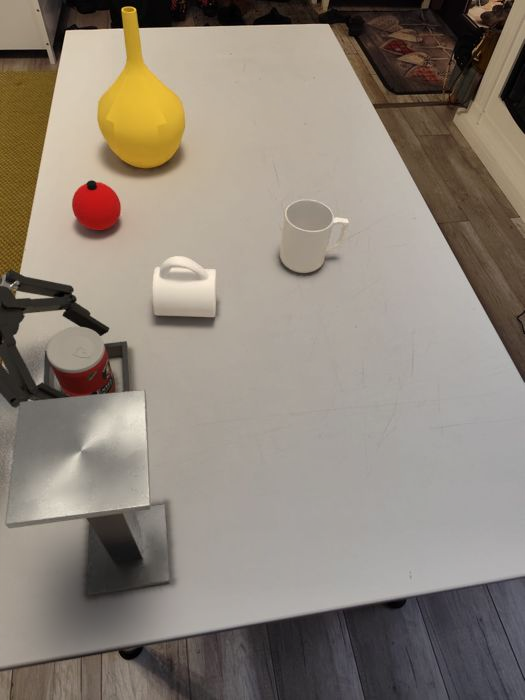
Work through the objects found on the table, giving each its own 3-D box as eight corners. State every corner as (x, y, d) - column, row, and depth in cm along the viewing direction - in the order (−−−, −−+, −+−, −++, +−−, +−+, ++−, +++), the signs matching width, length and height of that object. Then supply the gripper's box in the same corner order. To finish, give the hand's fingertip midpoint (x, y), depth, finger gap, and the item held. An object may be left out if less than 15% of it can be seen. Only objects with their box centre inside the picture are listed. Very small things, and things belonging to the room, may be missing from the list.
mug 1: (214, 326, 91) (214, 279, 81) (155, 324, 90) (147, 276, 80) (216, 291, 96) (216, 242, 86) (160, 289, 95) (153, 240, 85)
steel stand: (84, 600, 64) (4, 524, 40) (87, 512, 70) (19, 401, 46) (174, 586, 66) (149, 505, 42) (169, 501, 72) (145, 389, 48)
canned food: (106, 414, 79) (92, 375, 70) (56, 404, 80) (36, 364, 71) (122, 373, 84) (112, 331, 75) (75, 364, 84) (58, 321, 75)
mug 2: (282, 277, 99) (289, 232, 90) (275, 245, 104) (281, 199, 95) (343, 274, 101) (356, 230, 92) (333, 242, 106) (344, 197, 97)
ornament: (75, 212, 105) (64, 170, 97) (120, 207, 107) (113, 165, 99) (79, 242, 100) (67, 200, 92) (126, 236, 102) (119, 194, 94)
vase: (98, 178, 112) (66, 28, 88) (112, 130, 123) (86, -15, 99) (183, 182, 113) (175, 36, 89) (189, 135, 124) (183, -7, 100)
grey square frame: (133, 418, 79) (130, 408, 77) (47, 430, 77) (41, 420, 75) (129, 351, 86) (126, 340, 84) (49, 360, 84) (44, 350, 82)
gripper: (-23, 234, 74) (100, 314, 87) (-113, 380, 60) (50, 451, 72) (1, 209, 70) (127, 296, 82) (-90, 360, 56) (80, 438, 68)
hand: (91, 368), depth 77 cm, fingers open, 13 cm apart
